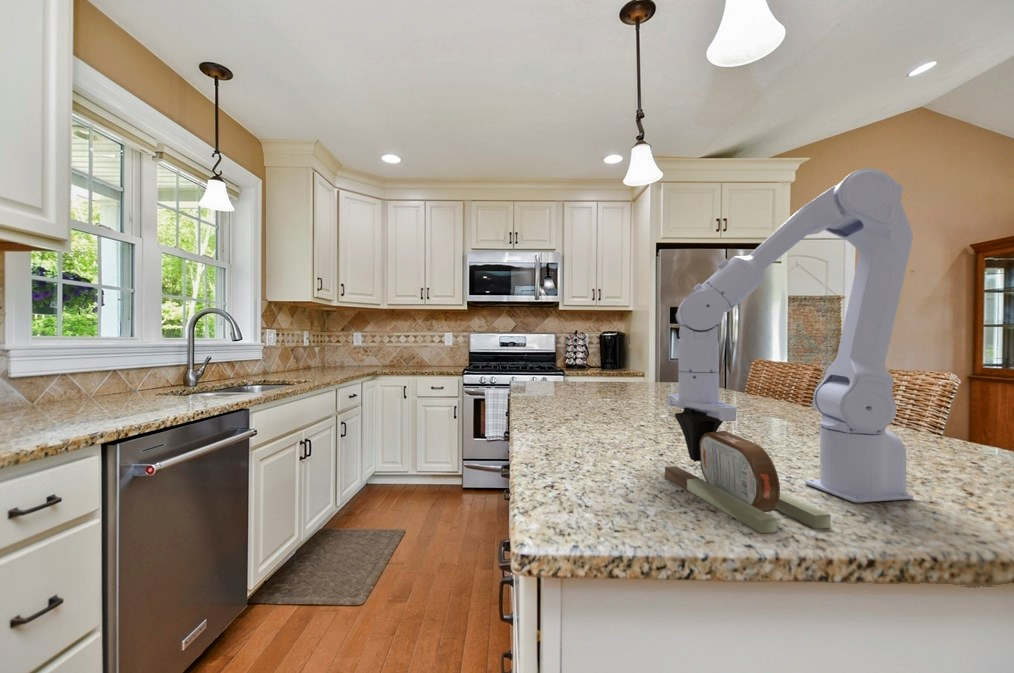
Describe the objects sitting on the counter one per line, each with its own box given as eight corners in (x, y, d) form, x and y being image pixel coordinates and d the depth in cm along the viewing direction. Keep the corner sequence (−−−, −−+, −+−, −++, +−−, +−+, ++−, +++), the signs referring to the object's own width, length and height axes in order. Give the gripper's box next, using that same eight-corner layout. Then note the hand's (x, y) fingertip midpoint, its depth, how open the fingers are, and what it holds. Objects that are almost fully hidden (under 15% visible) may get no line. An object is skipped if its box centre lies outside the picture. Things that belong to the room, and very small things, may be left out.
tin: (782, 523, 50) (782, 451, 50) (756, 523, 50) (755, 451, 50) (715, 481, 65) (715, 425, 65) (695, 481, 65) (695, 425, 65)
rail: (716, 473, 69) (716, 464, 69) (830, 527, 49) (830, 514, 49) (664, 476, 67) (664, 466, 67) (760, 533, 47) (760, 519, 47)
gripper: (651, 368, 73) (650, 449, 73) (703, 375, 58) (703, 475, 58) (689, 368, 74) (689, 447, 74) (750, 375, 60) (750, 473, 59)
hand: (698, 459), depth 66 cm, fingers closed
